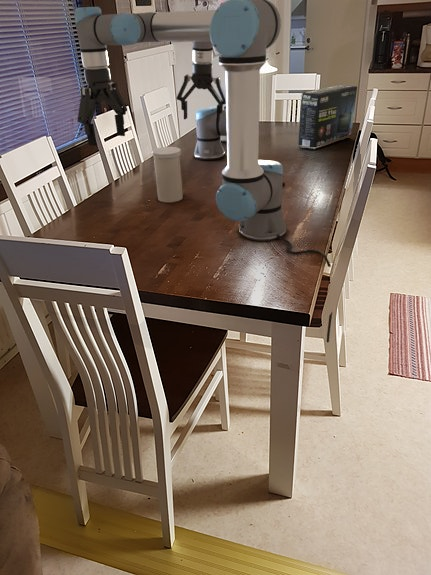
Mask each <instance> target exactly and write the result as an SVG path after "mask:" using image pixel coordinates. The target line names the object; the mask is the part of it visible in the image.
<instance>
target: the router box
mask: <svg viewBox="0 0 431 575" xmlns="http://www.w3.org/2000/svg"><path fill="white" fill-rule="evenodd" d="M357 93H358V86H356V85H350V84H339V85H338V84H337V85H334V86H328V87H324V88H318V89H314V90H309V91H304V92H301V93H300V109H299V110H300V111H299V124H298V137H297V146H298V145H302V146H307V147H317V146H320V145H323V144H325V143H328V142H331V141H333V140H336V139H338V138H341V137H344V136H347V135H351V136H352V133H353V132H352V131H353V125H354V115H355V109H356V99H357ZM311 151H313V150H312V149H311Z"/></svg>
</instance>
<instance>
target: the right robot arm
mask: <svg viewBox="0 0 431 575" xmlns="http://www.w3.org/2000/svg"><path fill="white" fill-rule="evenodd" d="M74 19H75V20H74V21H75V27H76V32H77V38H78V43H79V50H80V55H81V62H82V67H83V68H84V70H83V73H84V80H85V82H86V83H87V87H80V100H79V101H80V102H79V108H78V113H77V114H78V115H77V123H80V124H82V125H83V128H84V132H85V136H86V137H87V143H88V146H91V147H96V146H98V142H97V138H96V131H95V125H94V123H92V121H93V119H94V115H95V113H96V109H97V107H98V105H99V104H100V102H101V103H102V102H103V101H106V102H107V104H108V105H109V107H111V109H112V110H113V111H114V113H115V115H114V121H115V128H116V134H117V136H118V137H126V130H125V118H124V116H125V115H127V112H128V108H127V105H126V103H125V101H124V99H123V96H122V94H121V92H120V90H119V86H118V82H116V81H114V82H113V81H112V78H111V71H110V68H109V67H108V66H109V65H110V63H109V56H108V50H107V46H124V47H125V46H133V45H136V44H139V43H159V42H160V43H161V42H162V43H165V42H166V43H167V42H170V43H190V42H192V43H193V42H212V45H213V48H215V51H216V52H217V53H218V65H220V66H221V67H222V68H223V70H224V72H225V74H224V75H225V95H226V120H227V143H226V159H227V160H226V161H227V164H226V166H225V167H224V168H223V169H222V171H221V180H222V182H221V183H222V185H220V187H218V189H217V191H216V194H215V202H216V206H217V208H218V211H219V212H220V213H221V214H223V216H224V217H225V218H226V219H228V220H230V221H233V222H239V223H238V232H239V235H240V236H241V237H242V238H244V239H247V240H250V241H254V242H271V241H277V240H279V239H280V240H282V241H283V242H285V243H286V244H287V245H288V247H287V248H286V251H287V253H289V254H291V255H301V254H306V253H315V254H319V255H321V256H322V257H323V258H324V260H325V263H326V265H327V267H328V268H331V266H332V265H331V263H330V261H329V259H328V256H327V255H326V253H324V252H323V251H320V250H317V249H304V250H299V251H298V250H297V251H295V250H291V248H292V243H291V242H290V241H289V240H287V239H286V238H284V237H285V235H286V234H287V223H286V221H285V216H284V214H283V210H282V200H283V187H282V184H283V182H284V168H283V164H282V163H280V162H279V161H275V160H270V159H259V155H260V154H259V152H260V150H259V149H260V148H259V146H260V144H259V143H260V141H259V140H260V84H261V82H260V80H261V79H260V76H261V75H260V74H261V68H262V67H263V66H264V65H265V64H266V63H267V49H269V48H270V47H272V46H273V45H274V44H275V43H276V41H277V40H278V38H279V36H280V33H281V29H282V28H281V27H282V18H281V14H280V11H279V9H278V7H276V6H275V4H274V3H273V2H271V1H270V0H226V1H224V2H222V3H221V4H219V6H218V7H217V8H216V9H206V10H205V9H203V10H202V9H201V10H183V11H181V10H179V11H159V12H150V11H149V12H138V13H133V12H132V13H126V12H124V13H110V14H103V13H102V9H101V8H100V6H86V7H84V6H83V7H81V6H80V7H76V8H75V10H74ZM332 318H333V311H331V313H330V314H329V315H328V324H327V332H326V343H330V335H331V325H332V320H333V319H332Z"/></svg>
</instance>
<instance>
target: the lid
mask: <svg viewBox="0 0 431 575" xmlns="http://www.w3.org/2000/svg"><path fill="white" fill-rule="evenodd" d="M181 155H182V149H181V148H180V147H176V146H161V147H156V148H153V149H152V150H151V156H152V157H153V158H154V157H155V158H161V159H167V158H174V157H178V156H180V157H181Z"/></svg>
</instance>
